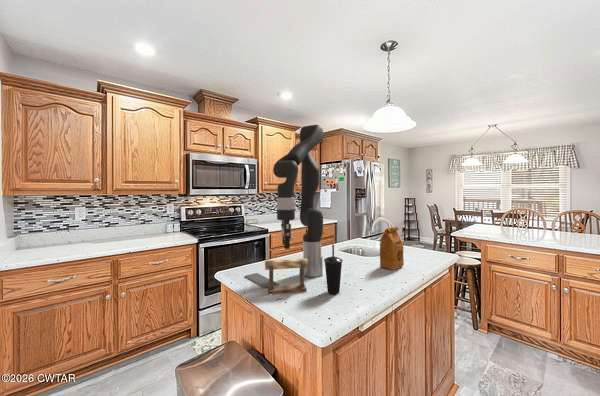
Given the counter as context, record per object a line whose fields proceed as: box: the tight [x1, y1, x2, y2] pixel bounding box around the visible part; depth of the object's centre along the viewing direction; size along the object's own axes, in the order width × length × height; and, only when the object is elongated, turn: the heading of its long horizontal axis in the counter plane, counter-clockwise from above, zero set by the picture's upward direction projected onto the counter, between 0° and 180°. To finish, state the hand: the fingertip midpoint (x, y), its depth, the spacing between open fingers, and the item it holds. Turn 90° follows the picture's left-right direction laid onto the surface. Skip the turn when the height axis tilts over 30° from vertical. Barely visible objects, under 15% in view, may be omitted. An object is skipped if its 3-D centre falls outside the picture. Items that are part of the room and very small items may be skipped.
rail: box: [264, 258, 308, 271], centre depth 107 cm, size 18×3×3 cm, turn 99°
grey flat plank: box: [244, 272, 280, 289], centre depth 120 cm, size 20×7×1 cm, turn 39°
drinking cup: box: [323, 244, 344, 296], centre depth 105 cm, size 8×8×20 cm
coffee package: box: [379, 226, 404, 270], centre depth 138 cm, size 10×12×22 cm
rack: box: [267, 263, 307, 296], centre depth 107 cm, size 16×6×12 cm, turn 99°
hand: (285, 246), depth 107 cm, fingers open, 8 cm apart
